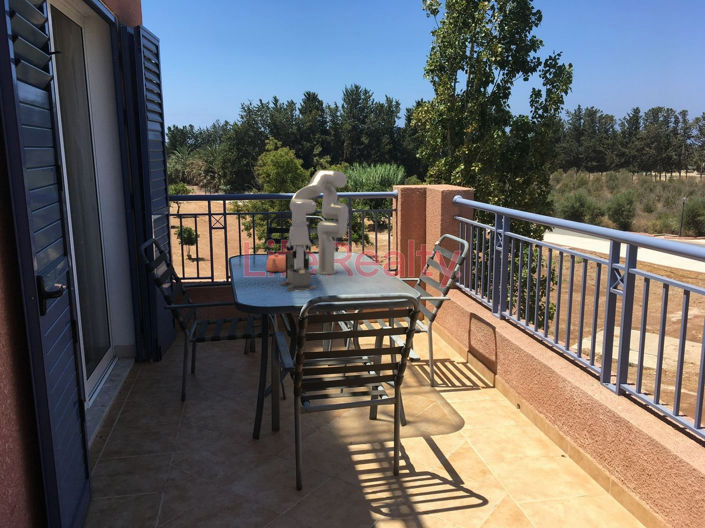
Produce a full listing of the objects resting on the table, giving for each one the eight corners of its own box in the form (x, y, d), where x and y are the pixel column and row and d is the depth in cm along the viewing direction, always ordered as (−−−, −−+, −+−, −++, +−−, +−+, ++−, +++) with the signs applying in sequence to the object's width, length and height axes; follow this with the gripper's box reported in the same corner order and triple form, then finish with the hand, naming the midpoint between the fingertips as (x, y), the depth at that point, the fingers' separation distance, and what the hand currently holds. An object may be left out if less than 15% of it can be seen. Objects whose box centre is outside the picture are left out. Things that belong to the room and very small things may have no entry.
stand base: (280, 284, 310) (280, 265, 308) (308, 282, 316) (308, 264, 314) (288, 291, 296) (288, 272, 294) (317, 289, 302) (317, 270, 300)
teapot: (288, 268, 351) (288, 251, 349) (282, 274, 333) (282, 257, 331) (270, 267, 352) (270, 251, 350) (263, 273, 334) (263, 256, 332)
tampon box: (297, 280, 319) (298, 255, 316) (285, 278, 324) (285, 253, 321) (309, 277, 328) (309, 252, 325) (296, 275, 333) (296, 250, 330)
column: (294, 275, 306) (294, 246, 303) (301, 275, 307) (301, 246, 304) (296, 277, 302) (296, 248, 298) (303, 277, 303) (304, 247, 300)
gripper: (311, 222, 305) (311, 255, 309) (281, 223, 299) (282, 257, 303) (316, 224, 299) (315, 258, 302) (285, 225, 292) (285, 260, 296)
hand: (298, 257), depth 303 cm, fingers closed on column, 4 cm apart
